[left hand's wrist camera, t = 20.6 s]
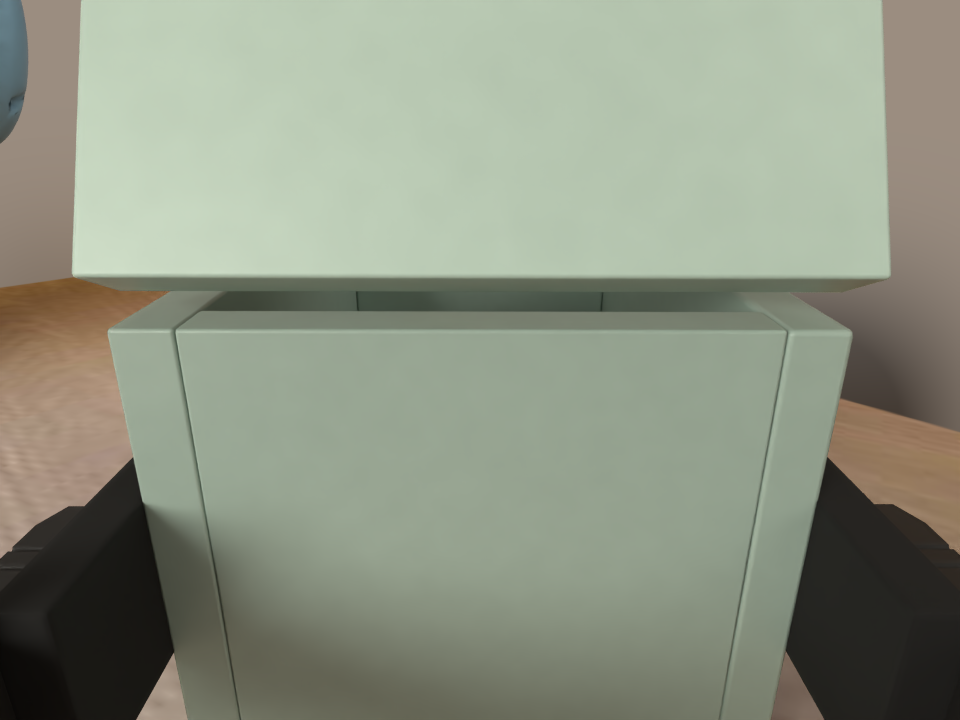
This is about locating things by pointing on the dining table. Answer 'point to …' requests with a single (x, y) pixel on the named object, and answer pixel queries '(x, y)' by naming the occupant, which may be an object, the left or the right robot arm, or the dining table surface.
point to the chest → (479, 498)
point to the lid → (482, 145)
